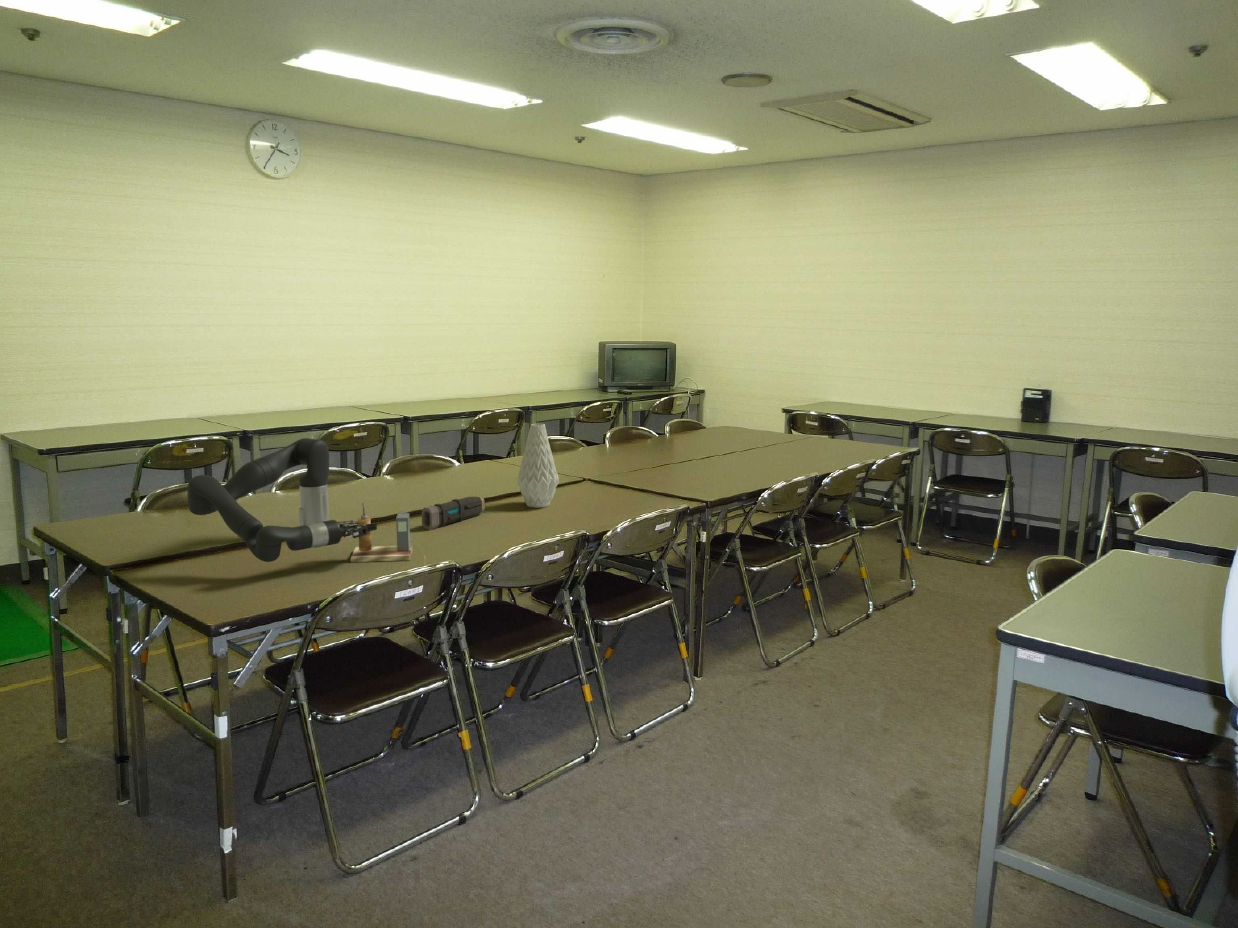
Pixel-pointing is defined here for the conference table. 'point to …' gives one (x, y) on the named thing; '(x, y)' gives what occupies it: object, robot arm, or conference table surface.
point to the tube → (451, 512)
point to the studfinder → (403, 531)
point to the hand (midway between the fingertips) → (372, 524)
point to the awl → (366, 539)
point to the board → (381, 554)
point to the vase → (537, 469)
